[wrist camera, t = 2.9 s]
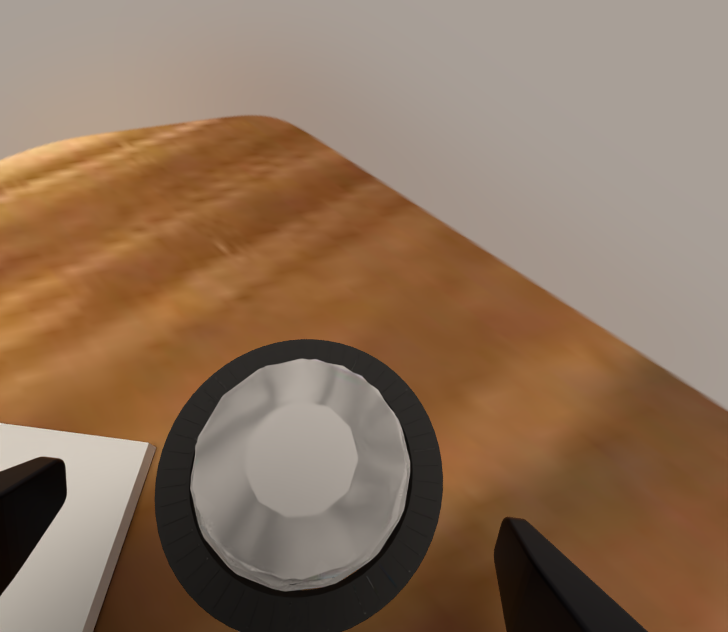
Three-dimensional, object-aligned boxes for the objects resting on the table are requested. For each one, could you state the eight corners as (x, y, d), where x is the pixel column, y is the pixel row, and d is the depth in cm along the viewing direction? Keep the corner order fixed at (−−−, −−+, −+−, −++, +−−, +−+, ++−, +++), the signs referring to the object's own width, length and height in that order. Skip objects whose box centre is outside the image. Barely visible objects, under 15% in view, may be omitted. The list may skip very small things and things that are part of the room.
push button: (301, 672, 14) (266, 890, 5) (179, 563, 15) (-27, 582, 6) (409, 489, 17) (508, 420, 8) (301, 410, 18) (281, 272, 9)
